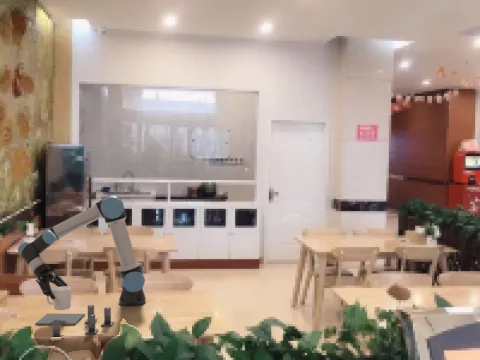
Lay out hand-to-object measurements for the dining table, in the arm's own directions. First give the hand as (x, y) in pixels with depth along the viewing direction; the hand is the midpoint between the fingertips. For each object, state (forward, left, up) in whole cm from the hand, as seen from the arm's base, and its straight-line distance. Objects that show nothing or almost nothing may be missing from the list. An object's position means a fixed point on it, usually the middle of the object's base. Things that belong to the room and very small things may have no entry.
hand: (64, 301), depth 262 cm
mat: (+3, -1, -10) cm, 11 cm away
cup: (+3, 0, -4) cm, 5 cm away
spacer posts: (-14, +14, -10) cm, 22 cm away
